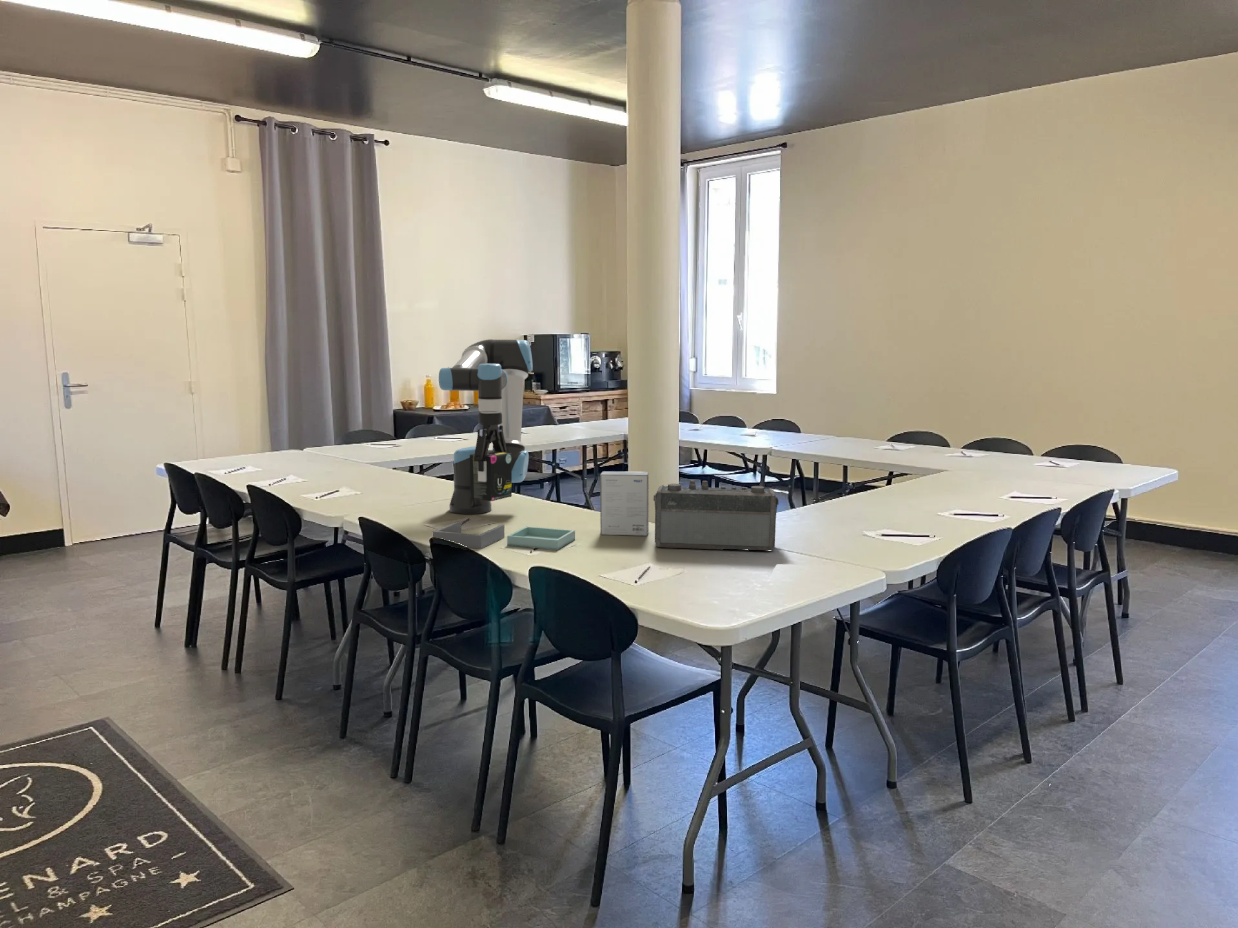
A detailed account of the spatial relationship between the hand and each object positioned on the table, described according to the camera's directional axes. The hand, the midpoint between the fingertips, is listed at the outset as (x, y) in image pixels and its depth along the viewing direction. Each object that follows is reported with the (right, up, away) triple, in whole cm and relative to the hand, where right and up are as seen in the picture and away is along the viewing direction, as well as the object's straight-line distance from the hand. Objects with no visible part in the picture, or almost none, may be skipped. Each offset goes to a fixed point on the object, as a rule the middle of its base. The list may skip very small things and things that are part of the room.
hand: (491, 478), depth 290 cm
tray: (+18, -20, -14) cm, 30 cm away
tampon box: (0, -7, +1) cm, 7 cm away
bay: (-5, -19, -12) cm, 23 cm away
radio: (+71, -21, -15) cm, 76 cm away
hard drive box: (+43, -18, +1) cm, 47 cm away
